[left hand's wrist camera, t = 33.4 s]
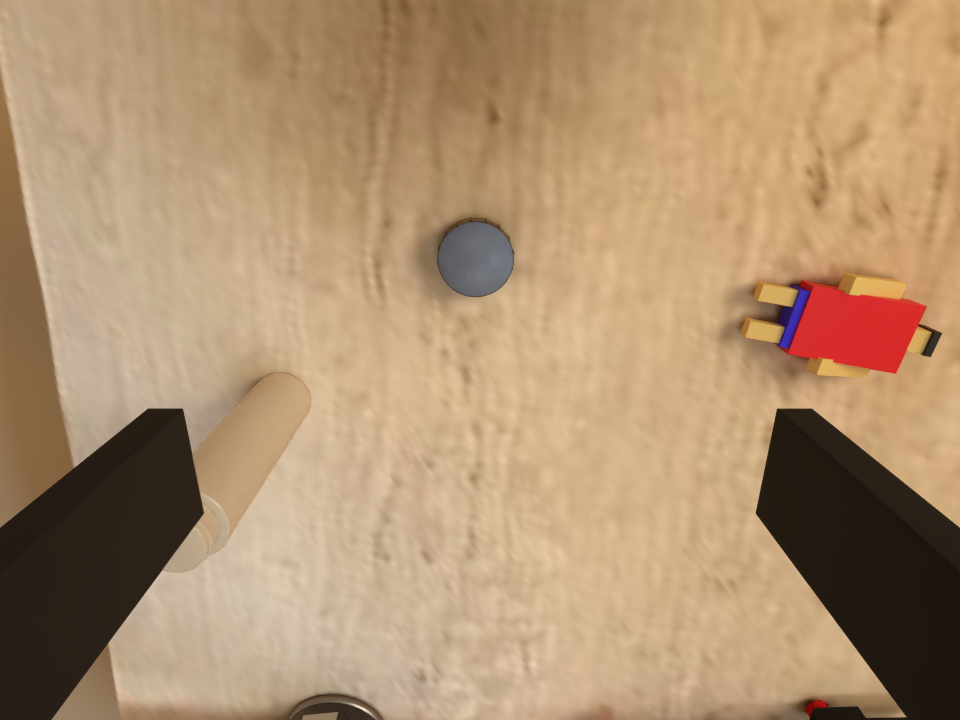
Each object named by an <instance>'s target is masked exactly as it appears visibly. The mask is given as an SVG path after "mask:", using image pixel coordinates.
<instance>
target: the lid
mask: <svg viewBox="0 0 960 720" xmlns="http://www.w3.org/2000/svg"><path fill="white" fill-rule="evenodd" d="M438 249H439V252H438V262H437V264H438V266H439V270H440V273H441V275H442V278H443V279H444V281H445V282H446V283H447V284H448V285H449V286H450V287H451V288H452V289H453V290H455V291H456V292H458V293H460V294H462V295H466V296H470V297H481V296H486V295H489V294H492V293H494V292H495V291H497V290H498V289H500V288H501V287H502V286H503V285H504V284H505V283H506V281H507V280H508V278H509V276H510V274H511V272H512V270H513V263H514V256H513V255H514V251H513V250H512V246H511V243H510V238H509V236H507V235H506V233H505V232H504V231H503V230H502V229H501V228H500V225H497V224H495V223H493V222H491V221H489V220H487V218H485V219H481V218H472V217H470V219H466V220H463V221H460V222H456V224H455V225H454V226H452V227H451V228H450V229H449V230H448V232H445V234H444V238H443V240H442V242H441V245H439V247H438Z"/></svg>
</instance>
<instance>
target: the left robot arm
mask: <svg viewBox="0 0 960 720" xmlns="http://www.w3.org/2000/svg"><path fill="white" fill-rule="evenodd" d="M203 514H204V510H203V505H202V500H201V495H200V490H199V485H198V480H197V475H196V470H195V466H194V461H193V456H192V451H191V446H190V441H189V436H188V431H187V426H186V422H185V417H184V412H183V409H147V410H146V411H145V412H143V413H142V414H141V415H140V416H138V417H137V418H136V419H135V420H133V421H132V422H131V423H130V424H129V425H127V426H126V427H125V428H124V429H122V430H121V431H120V432H119V433H117V434H116V435H115V436H114V437H112V438H111V439H110V440H109V441H107V442H106V443H105V444H104V445H102V446H101V447H100V448H99V449H97V450H96V451H95V452H94V453H93V454H91V455H90V456H89V457H88V458H86V459H85V460H84V461H83V462H81V463H80V464H79V465H78V466H76V467H75V468H74V469H73V470H71V471H70V472H69V473H68V474H66V475H65V476H64V477H63V478H61V479H60V480H59V481H58V482H57V483H55V484H54V485H53V486H52V487H50V488H49V489H48V490H47V491H45V492H44V493H43V494H42V495H40V496H39V497H38V498H37V499H35V500H34V501H33V502H32V503H30V504H29V505H28V506H27V507H25V508H24V509H23V510H22V511H20V512H19V513H18V514H17V515H16V516H14V517H13V518H12V519H11V520H9V521H8V522H7V523H6V524H4V525H3V526H2V527H1V528H0V720H51V719H52V718H53V717H54V715H55V714H56V713H57V711H58V710H59V709H60V707H61V706H62V705H63V703H64V702H65V701H66V699H67V698H68V696H69V695H70V694H71V692H72V691H73V690H74V688H75V687H76V686H77V684H78V683H79V682H80V680H81V679H82V678H83V676H84V675H85V674H86V672H87V671H88V670H89V668H90V667H91V665H92V664H93V663H94V661H95V660H96V659H97V657H98V656H99V655H100V653H101V652H102V651H103V649H104V648H105V647H106V645H107V644H108V643H109V641H110V640H111V639H112V637H113V636H114V634H115V633H116V632H117V630H118V629H119V628H120V626H121V625H122V624H123V622H124V621H125V620H126V618H127V617H128V616H129V614H130V613H131V612H132V610H133V609H134V608H135V606H136V605H137V603H138V602H139V601H140V599H141V598H142V597H143V595H144V594H145V593H146V591H147V590H148V589H149V587H150V586H151V585H152V583H153V582H154V581H155V579H156V578H157V576H158V575H159V574H160V572H161V571H162V570H163V568H164V567H165V566H166V564H167V563H168V562H169V560H170V559H171V558H172V556H173V555H174V554H175V552H176V551H177V550H178V548H179V547H180V545H181V544H182V543H183V541H184V540H185V539H186V537H187V536H188V535H189V533H190V532H191V531H192V529H193V528H194V527H195V525H196V524H197V523H198V521H199V520H200V518H201V517H202V516H203ZM756 514H757V516H758V517H759V518H760V520H761V521H762V523H763V524H764V525H765V527H766V528H767V529H768V531H769V532H770V533H771V535H772V536H773V537H774V539H775V540H776V541H777V543H778V544H779V545H780V547H781V548H782V550H783V551H784V552H785V554H786V555H787V556H788V558H789V559H790V560H791V562H792V563H793V564H794V566H795V567H796V568H797V570H798V571H799V572H800V574H801V575H802V576H803V578H804V579H805V581H806V582H807V583H808V585H809V586H810V587H811V589H812V590H813V591H814V593H815V594H816V595H817V597H818V598H819V599H820V601H821V602H822V603H823V605H824V606H825V608H826V609H827V610H828V612H829V613H830V614H831V616H832V617H833V618H834V620H835V621H836V622H837V624H838V625H839V626H840V628H841V629H842V630H843V632H844V633H845V634H846V636H847V637H848V639H849V640H850V641H851V643H852V644H853V645H854V647H855V648H856V649H857V651H858V652H859V653H860V655H861V656H862V657H863V659H864V660H865V661H866V663H867V664H868V666H869V667H870V668H871V670H872V671H873V672H874V674H875V675H876V676H877V678H878V679H879V680H880V682H881V683H882V684H883V686H884V687H885V688H886V690H887V691H888V692H889V694H890V695H891V697H892V698H893V699H894V701H895V702H896V703H897V705H898V706H899V707H900V709H901V710H902V711H903V713H904V714H905V715H906V717H907V718H908V719H909V720H960V528H959V527H958V526H957V525H956V524H954V523H953V522H952V521H951V520H949V519H948V518H947V517H946V516H944V515H943V514H942V513H941V512H940V511H938V510H937V509H936V508H935V507H933V506H932V505H931V504H930V503H928V502H927V501H926V500H925V499H923V498H922V497H921V496H920V495H918V494H917V493H916V492H915V491H913V490H912V489H911V488H910V487H908V486H907V485H906V484H905V483H903V482H902V481H901V480H900V479H899V478H897V477H896V476H895V475H894V474H892V473H891V472H890V471H889V470H887V469H886V468H885V467H884V466H882V465H881V464H880V463H879V462H877V461H876V460H875V459H874V458H872V457H871V456H870V455H869V454H867V453H866V452H865V451H864V450H863V449H861V448H860V447H859V446H858V445H856V444H855V443H854V442H853V441H851V440H850V439H849V438H848V437H846V436H845V435H844V434H843V433H841V432H840V431H839V430H838V429H836V428H835V427H834V426H833V425H831V424H830V423H829V422H828V421H827V420H825V419H824V418H823V417H822V416H820V415H819V414H818V413H817V412H815V411H814V410H813V409H777V412H776V417H775V422H774V426H773V431H772V436H771V441H770V446H769V451H768V456H767V461H766V466H765V470H764V475H763V480H762V485H761V490H760V495H759V500H758V505H757V510H756Z"/></svg>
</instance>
